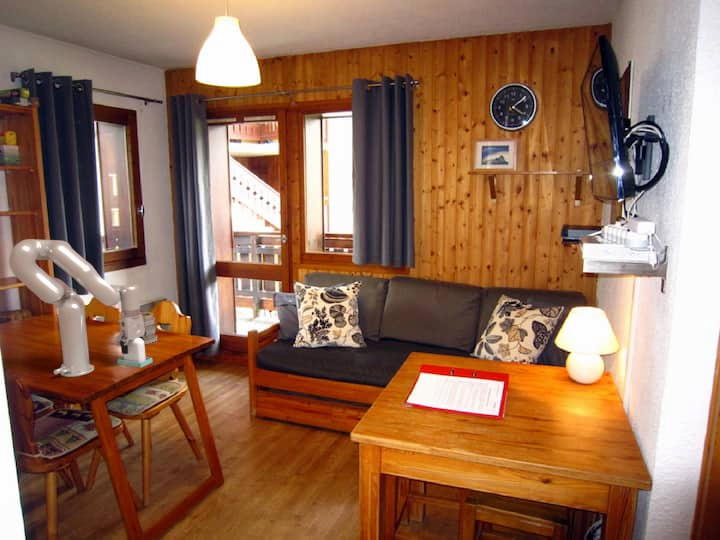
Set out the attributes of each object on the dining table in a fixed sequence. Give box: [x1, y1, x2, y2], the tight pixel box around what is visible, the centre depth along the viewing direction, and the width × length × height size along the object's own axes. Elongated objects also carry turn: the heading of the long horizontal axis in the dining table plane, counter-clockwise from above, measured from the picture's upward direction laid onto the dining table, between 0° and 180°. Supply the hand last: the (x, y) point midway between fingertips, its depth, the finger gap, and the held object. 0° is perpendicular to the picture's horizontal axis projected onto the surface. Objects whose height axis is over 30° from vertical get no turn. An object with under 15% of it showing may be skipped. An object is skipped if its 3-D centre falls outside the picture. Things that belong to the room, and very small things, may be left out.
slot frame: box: [117, 356, 153, 369], centre depth 228 cm, size 7×13×2 cm, turn 70°
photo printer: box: [122, 338, 147, 363], centre depth 227 cm, size 10×4×12 cm, turn 68°
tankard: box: [117, 311, 159, 345], centre depth 255 cm, size 20×13×15 cm, turn 152°
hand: (133, 350), depth 227 cm, fingers open, 9 cm apart
